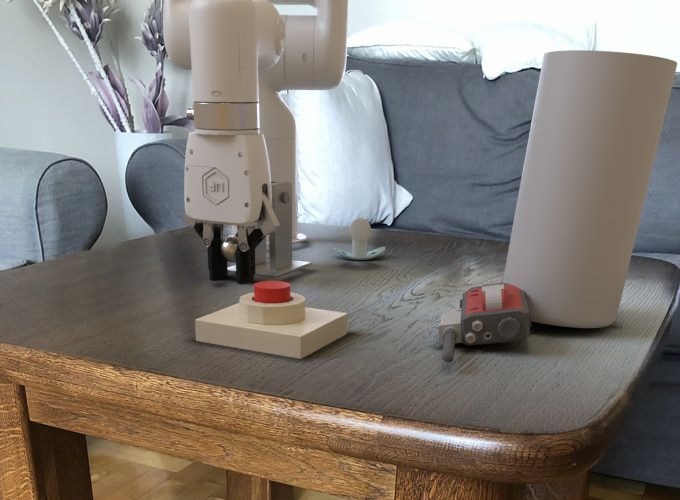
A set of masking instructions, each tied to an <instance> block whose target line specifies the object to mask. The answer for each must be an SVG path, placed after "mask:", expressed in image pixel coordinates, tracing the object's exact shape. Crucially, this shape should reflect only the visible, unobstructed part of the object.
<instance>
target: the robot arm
mask: <svg viewBox="0 0 680 500" xmlns="http://www.w3.org/2000/svg"><path fill="white" fill-rule="evenodd" d="M276 6H310V7H312V8H314V10H315V11H316V14H315V15H314V14H313V15H311V14H309V15H308V14H280V12H279V11H278V9H277V7H276ZM348 22H349V0H163V7H162V35H163V37H162V38H163V44H164V48H165V51H166V54H167V56H168V58H169V59H170V61H171V62H172V64H174V65H175V66H176V67H178V68H180V69H182V70H187V71H191V81H192V84H191V85H192V107H188V108H187V109H186V118H187V120H189V121H193V129H194V131H189V132H188V136H187V141H186V147H185V156H184V174H183V177H184V178H183V197H184V198H183V199H184V212H183V215H182V221H183V222H184V223H186V224H187V225H188V227H191V228H192V229H194V231H195V232H196V234H197V235H198V236H199V237H200V239H201V240H202V245H203V247H205V248H206V249H207V268H208V269H207V270H208V272H209V280H210V281H217V280H221V279H223V278H227V277H228V274H229V272H228V267H229V265H228V261H226V260H225V259H224V258H223V257H222V255H221V252H220V246H221V243H222V241H223V240H224V228H227V227H228V228H230V229H231V233H230V234H228V236H227V237H229V236H235V235H236V233H237V232H238V240H239V247H240V250H239V251H236V262H235V265H236V273H235V280H236V281H235V282H236V283H237V284H238V285H244V284H246V283H249V282H252V281H254V280H255V276H256V275H255V248H258V246H259V244H260V243H261V241H262V240H263V239H264V238H265V237H266V246H269V234H271V233H272V232H274V231H276V230H278V229H279V227H280V224H279V222H278V219H277V217H276V215H275V213H274V211H273V209H272V192H271V182H281V181H292V245H293V244H294V245H295V244H299V243H302V242H305V241H307V240H308V237H307V235H306V234H304V233H301V232H298V123H297V119H296V117H295V115H294V113H293V111H292V110H291V108H290V107H289V106H288V104H287V103H286V101H285V100H284V99H283V97H282V95H281V94H280V93H281V92H282V91H329V90H333V89H336V88H338V87H339V86H340V85H341V84H342V82H343V80H344V78H345V74H346V68H347V59H348V26H349V25H348V24H349V23H348ZM257 221H258V222H260V221H263V224H262V225H261V226H260V227H258V228H257Z"/></svg>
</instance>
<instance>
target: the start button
mask: <svg viewBox="0 0 680 500" xmlns="http://www.w3.org/2000/svg"><path fill="white" fill-rule="evenodd" d="M253 292H254V301H255V302H259V303H270V304H278V303H285V302H290V292H291V283H289V282H288V281H287V282H286V281H282V280H261V281H258V282H255V283H254V284H253Z"/></svg>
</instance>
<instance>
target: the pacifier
mask: <svg viewBox="0 0 680 500" xmlns="http://www.w3.org/2000/svg"><path fill="white" fill-rule="evenodd" d="M371 234H372V226H371V224H370V222H369V221H368V220H367V219H366V218H363V217H358V218H356V219H354V220H353V221H352V223H351V224H350V226H349V236H350V238H351V239H352V242H351V246H352V247H351V252H350V251H347V250H344V249H342V248H339V247H337V246H333V250H334V251H335V252H336V254H338V255H340V256H341V257H343V258H345V259H346V260H351V261H367V260H373V259H375V258H377V257H379V256H380V255H382V254H383V253H384V252H385V251H386V246H381V247H377V248H375V249H372V250H369V251H368V240H369V238H370V236H371Z"/></svg>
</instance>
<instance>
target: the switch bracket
mask: <svg viewBox="0 0 680 500" xmlns="http://www.w3.org/2000/svg"><path fill="white" fill-rule="evenodd" d="M271 192H272V209H273V211H274V213H275V215H276V217H277V219H278V222H279V224H280V227H279V229H278V230H276V231H274V232H272V233H271V234H269V245H268V256H267V245H266V237H265V238H264V239H263V240H262V241H261V243H260V244H259V246H258V248H255V275H254V276H255V277H264V278H272V279H276V278H279V277H282V276H284V275H287V274H289V273H293V272H295V271H299V270H300V269H304V268H306V267H309V266H312V262H311V261H302V260H294V259H293V244H292V181H281V182H275V183H271ZM262 224H263V221H260V222H257V228H258V227H260V226H261V225H262ZM228 273H233V274H236V264H234V265H231V266H228Z"/></svg>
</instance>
